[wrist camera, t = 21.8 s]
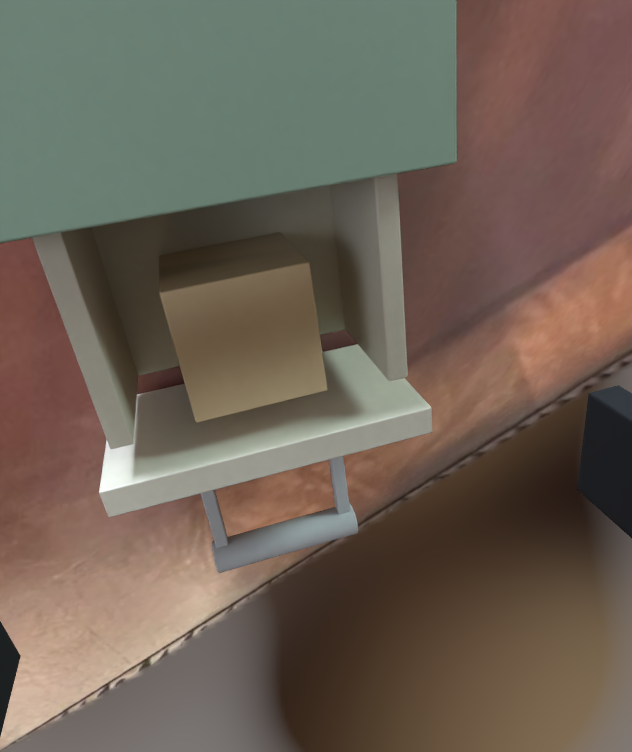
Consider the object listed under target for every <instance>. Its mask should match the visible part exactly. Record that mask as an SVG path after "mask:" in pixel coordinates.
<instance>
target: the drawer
mask: <svg viewBox="0 0 632 752" xmlns="http://www.w3.org/2000/svg"><path fill="white" fill-rule="evenodd" d="M277 232H280V233H281V234H282V235H283V236H284V237H285V238H286V239H287V240H288V241H289V242H290V243H291V244H292V245H293V246H294V247H295V248H296V249H297V250H298V251H299V252H300V253H301V254H302V255H303V256H304V257H305V258H306V259H307V260H308V261H309V263H310V267H311V275H312V282H313V289H314V296H315V303H316V310H317V318H318V325H319V332H320V335H322V334H327V333H331V332H336V331H340V330H345V329H346V331H347V332H348V333H349V334H350V335H351V337H352V338H353V339H354V340H355V341H356V343H357V344H356V345H352V346H348V347H343V348H339V349H334V350H330V351H326V352H322V353H323V360H324V368H325V375H326V382H327V390H326V391H322V392H318V393H314V394H310V395H306V396H302V397H298V398H294V399H290V400H286V401H282V402H278V403H274V404H270V405H266V406H262V407H258V408H254V409H250V410H246V411H242V412H238V413H234V414H230V415H226V416H222V417H218V418H213V419H209V420H205V421H201V422H196V421H195V418H194V415H193V411H192V408H191V404H190V401H189V397H188V393H187V390H186V386H185V384H181V385H177V386H172V387H168V388H164V389H159V390H155V391H151V392H146V393H142V394H137V382H138V375H143V374H147V373H152V372H156V371H161V370H165V369H170V368H174V367H179V366H180V365H179V361H178V358H177V354H176V351H175V347H174V344H173V340H172V337H171V333H170V330H169V326H168V322H167V319H166V315H165V312H164V308H163V305H162V301H161V298H160V287H159V256H160V255H164V254H170V253H175V252H180V251H185V250H190V249H195V248H200V247H205V246H211V245H216V244H221V243H226V242H231V241H236V240H241V239H246V238H252V237H257V236H262V235H267V234H272V233H277ZM32 239H33V242H34V244H35V247H36V250H37V253H38V255H39V258H40V261H41V263H42V266H43V269H44V271H45V274H46V277H47V280H48V282H49V285H50V288H51V290H52V293H53V296H54V298H55V301H56V304H57V307H58V309H59V312H60V315H61V317H62V320H63V323H64V325H65V328H66V331H67V334H68V336H69V339H70V342H71V344H72V347H73V350H74V353H75V355H76V358H77V361H78V363H79V366H80V369H81V371H82V374H83V377H84V380H85V382H86V385H87V388H88V390H89V393H90V396H91V398H92V401H93V404H94V407H95V409H96V412H97V415H98V417H99V420H100V423H101V425H102V428H103V431H104V434H105V436H106V439H107V441H106V448H105V455H104V462H103V469H102V476H101V483H100V489H99V494H100V496H101V499H102V501H103V504H104V506H105V509H106V511H107V514H108V516H109V517H113V516H117V515H121V514H124V513H128V512H132V511H136V510H140V509H143V508H147V507H151V506H155V505H159V504H162V503H166V502H170V501H174V500H178V499H181V498H185V497H189V496H193V495H197V494H200V493H201V497H202V500H203V504H204V507H205V511H206V514H207V518H208V521H209V525H210V528H211V531H212V535H213V538H214V541H213V542H212V551H213V556H214V561H215V565H216V568H217V571H218V572H219V573H221V572H225V571H228V570H231V569H235V568H238V567H242V566H245V565H249V564H252V563H256V562H259V561H263V560H266V559H269V558H273V557H276V556H280V555H283V554H287V553H290V552H294V551H297V550H301V549H304V548H307V547H311V546H314V545H318V544H321V543H325V542H328V541H332V540H335V539H338V538H342V537H345V536H349V535H352V534H356V533H357V532H358V524H357V519H356V516H355V513H354V510H353V508H352V506H351V505H350V504H349V499H348V491H347V483H346V475H345V467H344V459H343V456H345V455H348V454H352V453H356V452H360V451H364V450H367V449H371V448H375V447H379V446H383V445H386V444H390V443H394V442H398V441H402V440H405V439H409V438H413V437H417V436H420V435H424V434H428V433H431V432H432V410H431V407H430V406H429V404H428V403H427V402H426V401H425V400H424V399H423V398H422V397H421V396H420V394H419V393H418V392H417V391H416V390H415V389H414V388H413V387H412V386H411V385H410V383H409V382H408V381H407V380H406V379H405V378H406V377H407V376H408V373H407V353H406V333H405V313H404V293H403V274H402V254H401V234H400V214H399V194H398V174H393V175H387V176H382V177H376V178H370V179H365V180H359V181H353V182H347V183H342V184H336V185H330V186H325V187H319V188H313V189H307V190H302V191H296V192H290V193H285V194H279V195H273V196H267V197H262V198H256V199H250V200H245V201H239V202H233V203H227V204H222V205H216V206H210V207H205V208H199V209H193V210H187V211H182V212H176V213H170V214H165V215H159V216H153V217H148V218H142V219H136V220H130V221H125V222H119V223H113V224H108V225H102V226H96V227H90V228H85V229H79V230H73V231H68V232H62V233H56V234H50V235H45V236H39V237H33V238H32ZM326 460H329V465H330V472H331V479H332V487H333V494H334V501H335V507H333V508H330V509H326V510H323V511H319V512H315V513H312V514H308V515H305V516H301V517H297V518H294V519H290V520H287V521H283V522H280V523H276V524H272V525H269V526H265V527H262V528H258V529H254V530H251V531H247V532H244V533H240V534H237V535H233V536H229V537H227V533H226V529H225V526H224V522H223V518H222V515H221V511H220V507H219V504H218V500H217V496H216V493H215V489H219V488H223V487H227V486H231V485H234V484H238V483H242V482H246V481H250V480H253V479H257V478H261V477H265V476H269V475H272V474H276V473H280V472H284V471H288V470H291V469H295V468H299V467H303V466H307V465H310V464H314V463H318V462H322V461H326Z"/></svg>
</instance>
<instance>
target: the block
mask: <svg viewBox="0 0 632 752" xmlns="http://www.w3.org/2000/svg"><path fill="white" fill-rule="evenodd" d="M159 287H160V298H161V301H162V305H163V308H164V312H165V315H166V319H167V322H168V326H169V330H170V333H171V337H172V340H173V344H174V347H175V351H176V354H177V358H178V361H179V365H180V369H181V372H182V376H183V379H184V383H185V386H186V390H187V393H188V397H189V401H190V404H191V408H192V411H193V415H194V418H195V421H196V422H201V421H205V420H209V419H213V418H218V417H222V416H226V415H230V414H234V413H238V412H242V411H246V410H250V409H254V408H258V407H262V406H266V405H270V404H274V403H278V402H282V401H286V400H290V399H294V398H298V397H302V396H306V395H310V394H314V393H318V392H322V391H326V390H327V382H326V375H325V368H324V360H323V353H322V346H321V339H320V332H319V325H318V318H317V310H316V303H315V296H314V289H313V282H312V275H311V267H310V263H309V261H308V260H307V259H306V258H305V257H304V256H303V255H302V254H301V253H300V252H299V251H298V250H297V249H296V248H295V247H294V246H293V245H292V244H291V243H290V242H289V241H288V240H287V239H286V238H285V237H284V236H283V235H282V234H281V233H280V232H277V233H272V234H267V235H262V236H257V237H252V238H246V239H241V240H236V241H231V242H226V243H221V244H216V245H211V246H205V247H200V248H195V249H190V250H185V251H180V252H175V253H170V254H164V255H160V256H159Z"/></svg>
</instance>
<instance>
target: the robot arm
mask: <svg viewBox="0 0 632 752" xmlns="http://www.w3.org/2000/svg"><path fill="white" fill-rule="evenodd" d="M577 490H578V491H580V492H581V493H582V494H583V495H584V496H585V497H586V498H588V500H590V501H591V502H592V503H593V504H594V505H595V506H596V507H598V508H599V509H600V510H601V511H602V512H603V513H604V514H605V515H606V516H608V517H609V518H610V519H611V520H612V521H613V522H614V523H615V524H617V525H618V526H619V527H620V528H621V529H622V530H623V531H624V532H626V533H627V534H628V535H629V536H630V537H631V538H632V394H631V393H630V392H628V391H627V390H625V389H623V388H622V387H620V386H614V387H611V388H607V389H603V390H599V391H595V392H592V393H589V395H588V404H587V412H586V421H585V430H584V438H583V446H582V455H581V463H580V472H579V480H578V489H577ZM19 660H20V654H19V653H18V651H17V649H16V647H15V646H14V644H13V642H12V641H11V639H10V637H9V635H8V634H7V632H6V630H5V628H4V627H3V625H2V623H1V622H0V736H1V732H2V728H3V724H4V720H5V716H6V712H7V708H8V704H9V700H10V696H11V692H12V688H13V684H14V680H15V676H16V672H17V668H18V664H19Z"/></svg>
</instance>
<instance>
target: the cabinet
mask: <svg viewBox="0 0 632 752" xmlns="http://www.w3.org/2000/svg"><path fill="white" fill-rule="evenodd" d="M456 161H457V135H456V0H0V243H5V242H10V241H16V240H22V239H28V238H33V237H39V236H45V235H50V234H56V233H62V232H68V231H73V230H79V229H85V228H90V227H96V226H102V225H108V224H113V223H119V222H125V221H130V220H136V219H142V218H148V217H153V216H159V215H165V214H170V213H176V212H182V211H187V210H193V209H199V208H205V207H210V206H216V205H222V204H227V203H233V202H239V201H245V200H250V199H256V198H262V197H267V196H273V195H279V194H285V193H290V192H296V191H302V190H307V189H313V188H319V187H325V186H330V185H336V184H342V183H347V182H353V181H359V180H365V179H370V178H376V177H382V176H387V175H393V174H399V173H405V172H410V171H416V170H422V169H427V168H433V167H439V166H444V165H450V164H454V163H456Z"/></svg>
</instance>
